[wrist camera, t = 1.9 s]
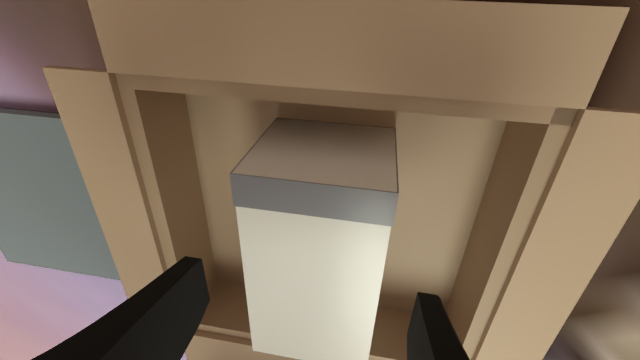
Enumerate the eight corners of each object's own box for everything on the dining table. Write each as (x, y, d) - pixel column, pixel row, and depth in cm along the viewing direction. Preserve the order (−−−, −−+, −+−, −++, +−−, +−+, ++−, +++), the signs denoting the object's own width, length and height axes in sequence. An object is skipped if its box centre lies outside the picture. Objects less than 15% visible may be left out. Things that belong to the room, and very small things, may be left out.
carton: (485, 353, 20) (503, 423, 17) (181, 300, 23) (147, 352, 20) (644, 4, 11) (752, 11, 8) (101, -17, 14) (10, -17, 10)
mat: (160, 278, 22) (154, 285, 22) (15, 255, 24) (7, 261, 23) (113, 119, 17) (105, 123, 16) (-72, 100, 18) (-85, 104, 18)
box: (372, 282, 19) (367, 373, 14) (282, 268, 19) (251, 351, 15) (395, 128, 14) (398, 193, 10) (276, 117, 15) (229, 173, 10)
